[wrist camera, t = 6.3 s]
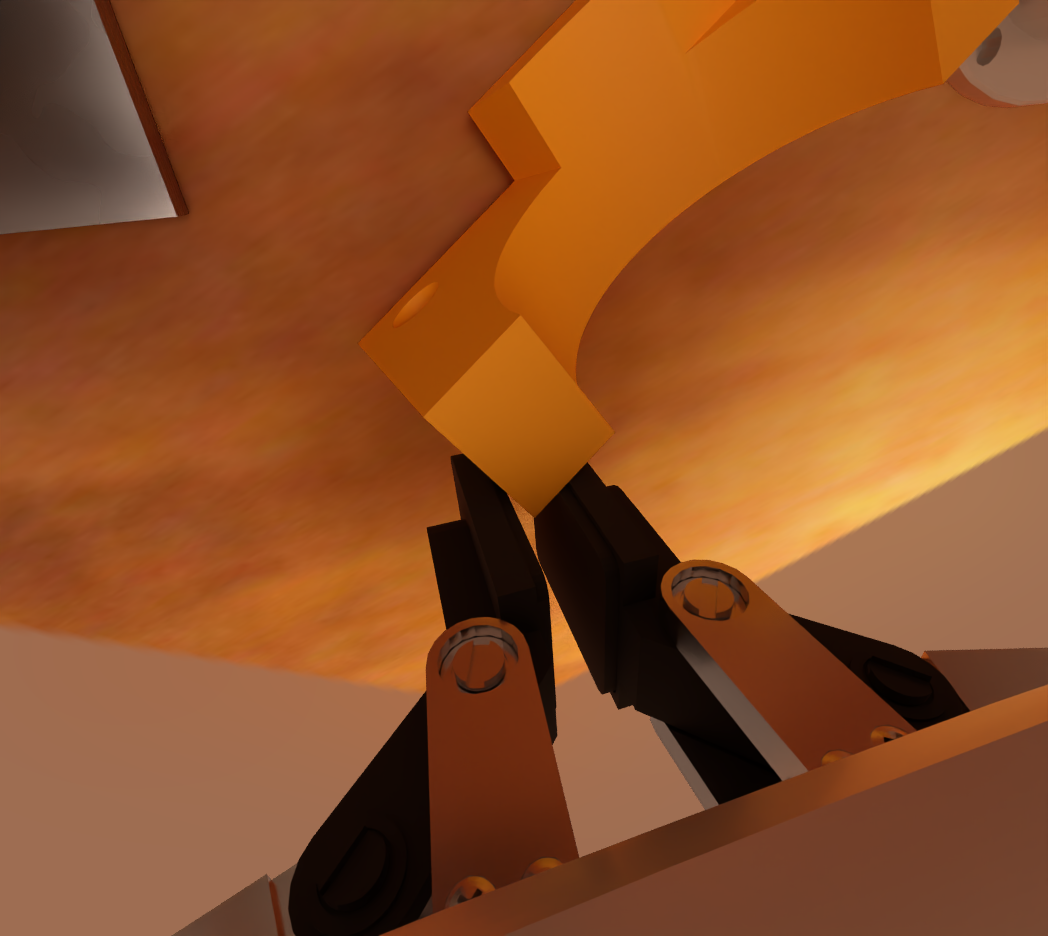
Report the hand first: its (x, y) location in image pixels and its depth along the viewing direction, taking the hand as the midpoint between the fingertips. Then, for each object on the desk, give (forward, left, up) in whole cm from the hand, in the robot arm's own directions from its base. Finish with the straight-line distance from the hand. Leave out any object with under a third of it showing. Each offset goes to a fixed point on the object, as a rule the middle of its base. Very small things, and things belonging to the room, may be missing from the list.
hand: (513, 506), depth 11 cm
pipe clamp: (-3, -6, -6) cm, 8 cm away
